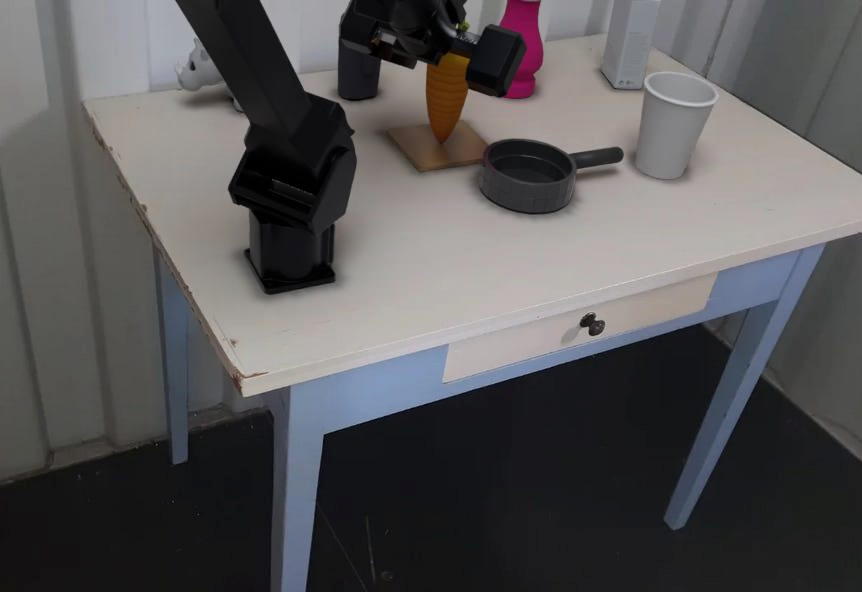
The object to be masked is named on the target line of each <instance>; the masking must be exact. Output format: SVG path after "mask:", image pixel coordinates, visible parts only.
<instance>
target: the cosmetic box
mask: <svg viewBox="0 0 862 592" xmlns="http://www.w3.org/2000/svg"><path fill="white" fill-rule="evenodd" d="M661 5H662V0H613V5H612V10H611V15H610V20H609V26H608V30H607V37H606V42H605V46H604V47H605V48H604V52H603V57H602V63H601V69H600V71H601V72H602V74H603V75H604V76H605V77H606V79H607V80H608V82H610V84H611V85H612V87H613V88H615V89H619V90H641V89H642V88H643V86H644V80H645V76H646V71H647V66H648V62H649V57H650V54H651V49H652V45H653V40H654V37H655V36H654V35H655V31H656V26H657V23H658V18H659V12H660V10H661Z"/></svg>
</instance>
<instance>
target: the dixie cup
mask: <svg viewBox="0 0 862 592" xmlns="http://www.w3.org/2000/svg"><path fill="white" fill-rule="evenodd" d="M643 86H644V90H643V91H644V92H643V98H642V99H643V100H642V101H643V102H642V107H641V116H640V122H639V129H638V130H639V131H638V137H637V138H638V139H637V147H636V154H635V163H634V165H635V167H636V168H637V169H638V171H640V172H641V173H642V174H645V175H647V176H649V177H651V178H655V179H660V180H675V179H678V178H680V177H682V176H683V174H684V172H685V170H686V167H687V165H688V163H689V161H690V159H691V157H692V155H693V153H694V150H695V148H696V145H697V143H698V141H699V139H700V137H701V135H702V132H703V130H704V128H705V125H706V123H707V122H708V120H709V116H711V115H710V114H711V112H712V110H713V108H714V106H715V104H716V103H718V102H719V99H720V95H719V91H717V89H716V88H715V87H714V86H713V85H712V84H711V83H709V82H708V81H706V80H704V79H702V78H700V77H696V76H694V75H691V74H688V73H683V72H679V71H678V72H677V71H656V72H653V73H651V74H648V75H647V76H646V77H644V80H643Z"/></svg>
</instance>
